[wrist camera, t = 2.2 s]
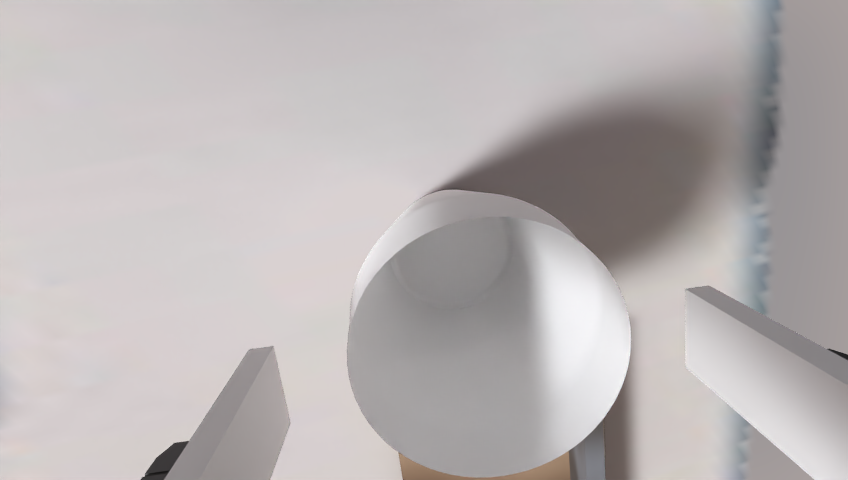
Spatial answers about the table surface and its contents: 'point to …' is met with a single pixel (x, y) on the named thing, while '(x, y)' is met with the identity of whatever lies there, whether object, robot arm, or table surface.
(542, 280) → the cup
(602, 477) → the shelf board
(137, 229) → the table surface
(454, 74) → the table surface
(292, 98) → the table surface
